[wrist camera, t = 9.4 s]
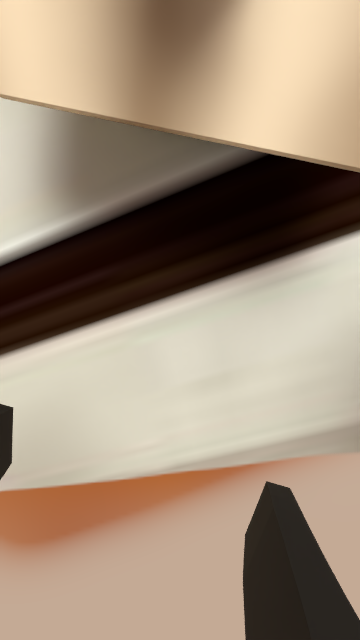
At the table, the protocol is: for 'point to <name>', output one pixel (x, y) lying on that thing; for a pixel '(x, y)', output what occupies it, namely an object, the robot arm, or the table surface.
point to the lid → (196, 69)
